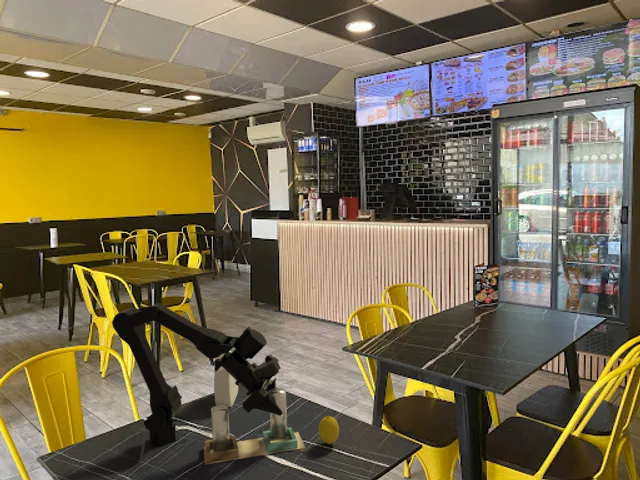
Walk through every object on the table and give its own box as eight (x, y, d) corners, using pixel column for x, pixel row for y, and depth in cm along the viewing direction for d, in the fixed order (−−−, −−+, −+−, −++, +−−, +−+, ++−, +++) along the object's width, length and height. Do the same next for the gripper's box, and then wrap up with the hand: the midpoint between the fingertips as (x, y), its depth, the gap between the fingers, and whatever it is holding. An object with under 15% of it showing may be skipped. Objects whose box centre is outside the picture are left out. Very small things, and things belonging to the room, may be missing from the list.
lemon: (322, 450, 132) (321, 421, 131) (316, 441, 137) (315, 413, 136) (342, 447, 133) (341, 418, 133) (336, 437, 139) (335, 410, 138)
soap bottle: (231, 410, 159) (228, 349, 157) (215, 411, 159) (211, 350, 157) (240, 390, 175) (237, 335, 173) (225, 391, 175) (222, 335, 173)
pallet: (205, 468, 125) (204, 456, 125) (204, 450, 134) (203, 440, 134) (305, 451, 132) (305, 440, 132) (298, 435, 141) (297, 425, 140)
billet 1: (213, 458, 128) (211, 413, 127) (212, 449, 132) (210, 406, 131) (231, 455, 129) (228, 410, 128) (229, 447, 134) (227, 404, 132)
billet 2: (269, 437, 133) (268, 394, 131) (272, 429, 137) (270, 387, 136) (286, 437, 132) (284, 394, 131) (288, 429, 137) (286, 387, 135)
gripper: (253, 361, 124) (298, 405, 123) (268, 339, 142) (308, 377, 142) (223, 391, 125) (268, 434, 125) (242, 365, 144) (281, 403, 143)
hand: (283, 410), depth 134 cm, fingers closed on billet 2, 4 cm apart
